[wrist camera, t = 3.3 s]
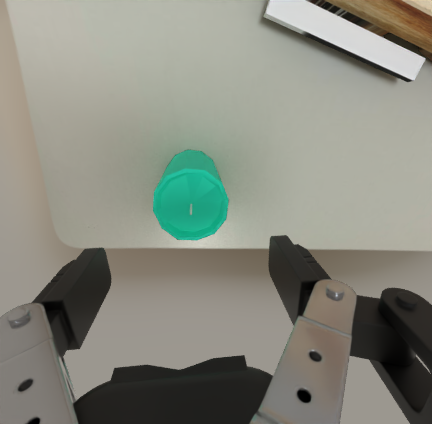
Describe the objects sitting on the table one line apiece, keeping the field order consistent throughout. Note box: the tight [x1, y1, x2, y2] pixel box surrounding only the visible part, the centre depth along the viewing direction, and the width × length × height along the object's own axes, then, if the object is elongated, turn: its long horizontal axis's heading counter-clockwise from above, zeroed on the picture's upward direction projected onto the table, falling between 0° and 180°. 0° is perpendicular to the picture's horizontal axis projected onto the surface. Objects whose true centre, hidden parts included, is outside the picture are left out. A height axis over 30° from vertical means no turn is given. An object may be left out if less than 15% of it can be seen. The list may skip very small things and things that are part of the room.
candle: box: [153, 150, 229, 240], centre depth 23 cm, size 6×6×12 cm
